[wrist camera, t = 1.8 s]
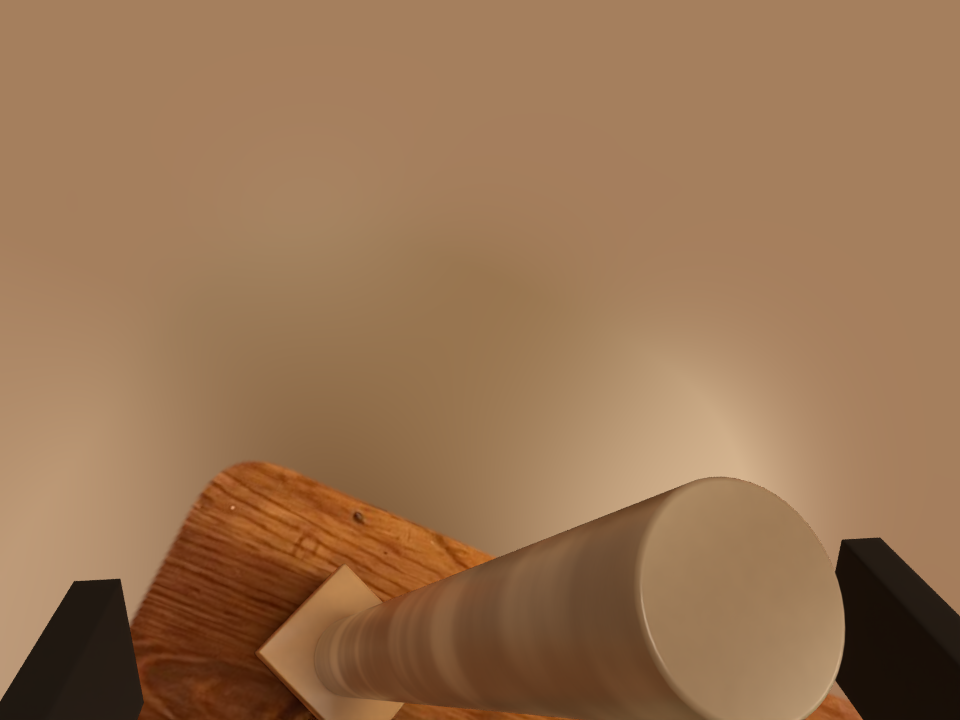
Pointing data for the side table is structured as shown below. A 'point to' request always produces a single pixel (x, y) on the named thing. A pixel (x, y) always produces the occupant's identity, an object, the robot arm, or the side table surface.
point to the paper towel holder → (592, 622)
